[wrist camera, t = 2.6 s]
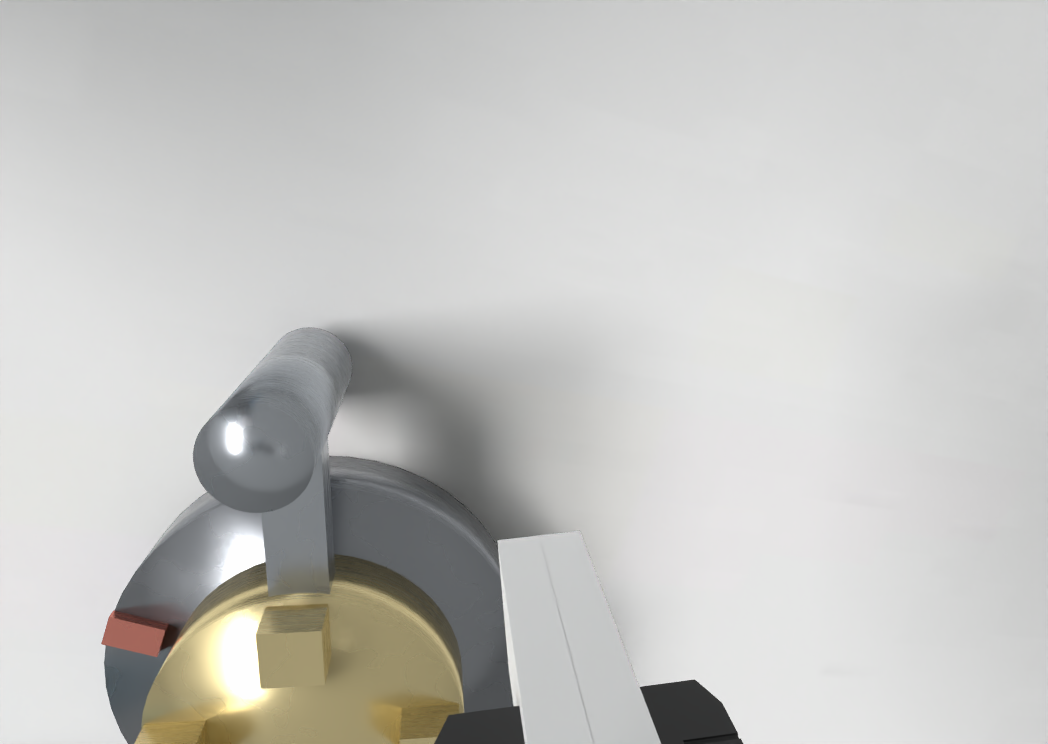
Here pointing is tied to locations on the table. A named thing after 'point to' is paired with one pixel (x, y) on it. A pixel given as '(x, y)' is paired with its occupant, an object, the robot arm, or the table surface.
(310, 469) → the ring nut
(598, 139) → the table surface
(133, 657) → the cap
